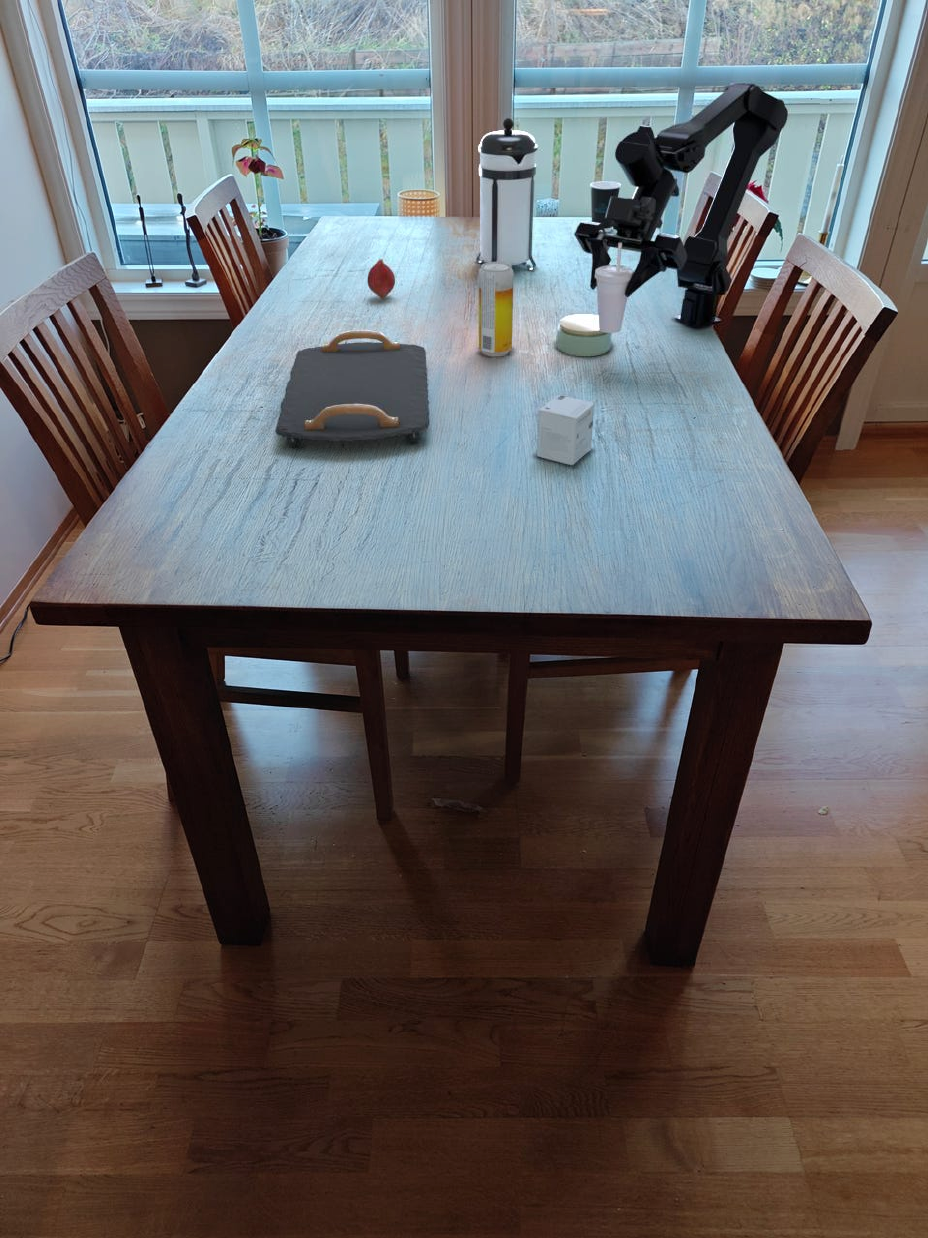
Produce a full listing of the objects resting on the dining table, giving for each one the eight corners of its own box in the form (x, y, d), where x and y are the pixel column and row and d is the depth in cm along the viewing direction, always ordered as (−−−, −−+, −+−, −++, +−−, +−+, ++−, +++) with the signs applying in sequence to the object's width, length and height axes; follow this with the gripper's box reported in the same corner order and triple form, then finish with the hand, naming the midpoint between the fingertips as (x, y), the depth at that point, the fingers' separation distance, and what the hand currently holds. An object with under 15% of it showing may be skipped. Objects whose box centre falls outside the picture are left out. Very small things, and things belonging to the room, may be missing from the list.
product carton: (573, 466, 119) (576, 418, 114) (535, 456, 121) (537, 408, 117) (591, 449, 123) (595, 402, 118) (554, 440, 125) (557, 393, 121)
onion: (364, 300, 177) (360, 260, 172) (376, 292, 182) (373, 253, 177) (388, 303, 176) (386, 263, 171) (400, 295, 180) (398, 256, 175)
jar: (587, 332, 161) (589, 309, 158) (621, 348, 154) (624, 325, 151) (545, 343, 157) (546, 319, 154) (578, 360, 150) (580, 335, 147)
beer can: (516, 347, 155) (519, 263, 146) (504, 359, 151) (505, 272, 141) (486, 343, 157) (487, 259, 148) (473, 354, 153) (472, 268, 143)
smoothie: (625, 337, 140) (634, 249, 132) (587, 334, 142) (593, 247, 133) (631, 323, 145) (639, 237, 136) (594, 320, 147) (600, 236, 138)
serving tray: (431, 453, 122) (429, 413, 119) (272, 459, 122) (265, 419, 118) (426, 355, 153) (425, 321, 149) (299, 359, 152) (294, 325, 148)
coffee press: (550, 261, 199) (558, 114, 180) (517, 278, 188) (521, 125, 169) (488, 251, 206) (489, 109, 187) (453, 267, 195) (450, 119, 177)
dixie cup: (607, 225, 224) (611, 179, 217) (622, 232, 218) (627, 185, 212) (581, 228, 222) (584, 182, 215) (595, 235, 216) (599, 188, 209)
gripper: (583, 166, 136) (543, 255, 136) (689, 180, 127) (646, 275, 127) (604, 208, 145) (567, 291, 146) (704, 223, 136) (664, 312, 137)
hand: (608, 291), depth 139 cm, fingers closed on smoothie, 6 cm apart
